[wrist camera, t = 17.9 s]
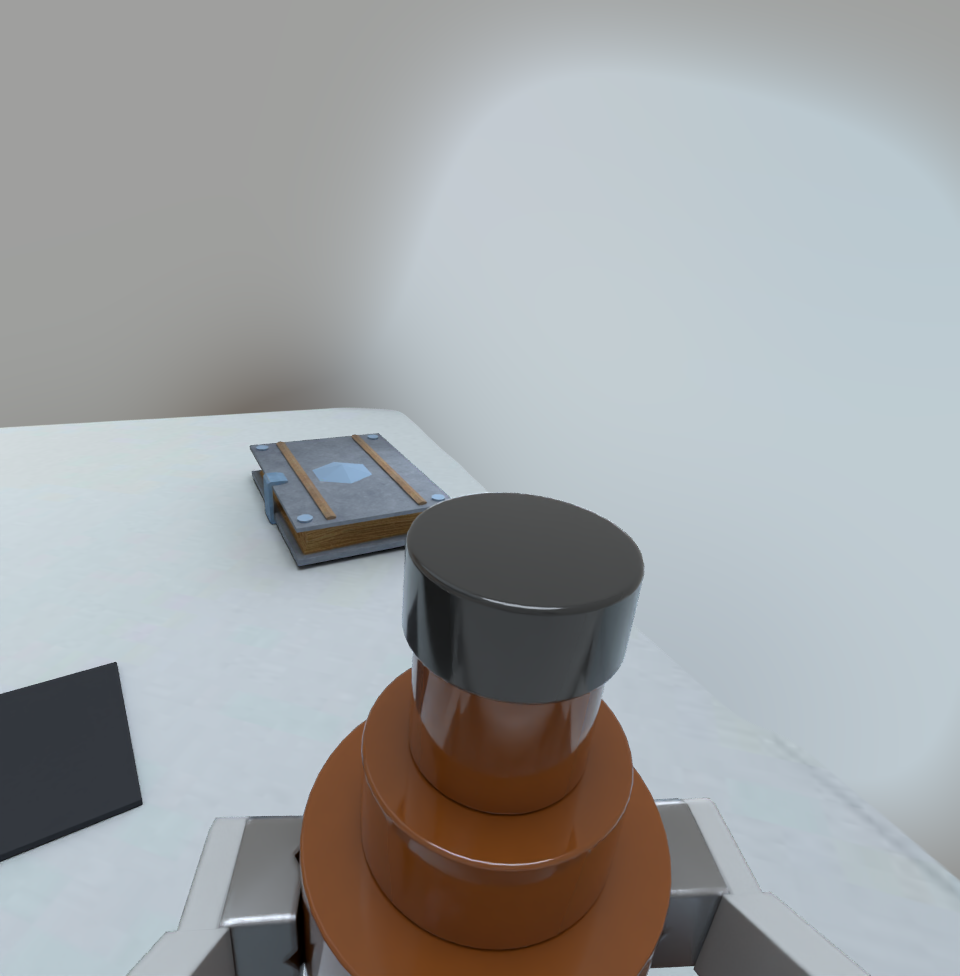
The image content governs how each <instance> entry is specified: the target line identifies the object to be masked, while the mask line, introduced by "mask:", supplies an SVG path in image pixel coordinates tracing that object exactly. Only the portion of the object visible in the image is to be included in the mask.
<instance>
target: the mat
mask: <svg viewBox="0 0 960 976" xmlns="http://www.w3.org/2000/svg"><path fill="white" fill-rule="evenodd" d="M139 805H142V798H141V793H140V787H139V782H138V776H137V771H136V765H135V760H134V754H133V749H132V744H131V738H130V733H129V727H128V722H127V716H126V711H125V705H124V700H123V694H122V689H121V684H120V678H119V673H118V667H117V662H114V663H110V664H107V665H103V666H99V667H96V668H92V669H89V670H85V671H81V672H78V673H74V674H71V675H67V676H64V677H60V678H56V679H53V680H49V681H46V682H42V683H38V684H35V685H31V686H28V687H24V688H21V689H17V690H13V691H10V692H6V693H3V694H0V861H2V860H4V859H7V858H9V857H12V856H14V855H17V854H19V853H22V852H24V851H27V850H29V849H32V848H34V847H37V846H39V845H42V844H44V843H47V842H49V841H52V840H54V839H57V838H59V837H62V836H64V835H67V834H69V833H72V832H74V831H77V830H79V829H82V828H84V827H87V826H89V825H92V824H94V823H97V822H99V821H102V820H104V819H107V818H109V817H112V816H114V815H117V814H119V813H122V812H124V811H127V810H129V809H132V808H134V807H137V806H139Z"/></svg>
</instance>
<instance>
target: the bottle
mask: <svg viewBox="0 0 960 976" xmlns="http://www.w3.org/2000/svg"><path fill="white" fill-rule="evenodd" d="M643 577H644V563H643V559H642V555H641V552H640V550H639V548H638V546H637V545H636V544H635V542H634V541H633V540H632V538H631V537H630V536H628V534H627V533H626V532H624V531H623V530H622V529H621V528H619V527H618V526H617V525H615V524H614V523H612V522H611V521H609V520H608V519H606V518H604V517H602V516H600V515H598V514H596V513H594V512H592V511H589V510H587V509H585V508H582V507H579V506H577V505H574V504H571V503H567V502H564V501H560V500H556V499H552V498H548V497H542V496H537V495H529V494H521V493H502V492H496V493H478V494H470V495H464V496H459V497H455V498H451V499H448V500H445V501H442V502H439V503H437V504H435V505H433V506H431V507H429V508H428V509H426V510H424V511H423V512H422V513H421V514H419V515H418V516H417V517H416V519H415V520H414V521H413V522H412V524H411V526H410V528H409V530H408V532H407V536H406V541H405V563H404V585H403V607H402V627H403V631H404V635H405V638H406V640H407V642H408V644H409V646H410V648H411V650H412V651H413V656H412V668H410V669H408V670H407V671H405V672H404V673H402V674H401V675H400V676H398V677H397V678H396V679H395V680H394V681H392V682H391V683H390V684H389V685H388V686H387V687H386V688H385V690H384V691H383V692H382V693H381V695H380V696H379V697H378V699H377V700H376V702H375V704H374V705H373V707H372V709H371V710H370V713H369V715H368V718H367V720H365V721H364V722H363V723H361V724H360V725H359V726H357V727H356V728H355V729H354V730H353V731H352V732H351V733H350V734H349V735H348V736H347V737H346V738H345V739H344V740H342V742H341V743H340V744H339V745H338V747H337V748H336V749H335V750H334V751H333V753H332V754H331V755H330V756H329V758H328V760H327V761H326V763H325V765H324V766H323V768H322V769H321V771H320V773H319V774H318V776H317V778H316V781H315V783H314V785H313V787H312V790H311V792H310V794H309V797H308V801H307V804H306V807H305V811H304V814H303V819H302V826H301V833H300V881H301V901H302V922H303V943H304V964H305V976H647V975H648V972H649V969H650V966H651V963H652V961H653V958H654V955H655V952H656V949H657V946H658V943H659V941H660V938H661V935H662V932H663V928H664V925H665V921H666V917H667V913H668V910H669V904H670V895H671V886H672V875H671V857H670V851H669V845H668V840H667V835H666V832H665V829H664V825H663V822H662V819H661V816H660V813H659V811H658V808H657V806H656V804H655V802H654V799H653V797H652V795H651V793H650V791H649V790H648V788H647V786H646V785H645V783H644V781H643V780H642V778H641V776H640V775H639V773H638V772H637V771H636V769H635V768H634V767H633V763H632V755H631V751H630V748H629V745H628V741H627V738H626V736H625V733H624V731H623V729H622V727H621V725H620V723H619V721H618V720H617V718H616V717H615V715H614V713H613V712H612V711H611V709H610V708H609V707H608V706H607V704H606V703H605V702H604V701H603V700H602V694H603V690H604V686H605V683H606V682H607V681H608V680H609V679H610V678H611V677H612V676H613V675H614V674H615V673H616V672H617V670H618V669H619V667H620V666H621V664H622V662H623V660H624V656H625V653H626V649H627V645H628V641H629V636H630V632H631V628H632V624H633V619H634V615H635V611H636V607H637V602H638V598H639V594H640V589H641V585H642V581H643Z"/></svg>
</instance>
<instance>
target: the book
mask: <svg viewBox="0 0 960 976" xmlns="http://www.w3.org/2000/svg"><path fill="white" fill-rule="evenodd" d="M250 450H251V451H252V453H253V455H254V457H255V459H256V460H257V462H258V464H259V466H260V468H261V469H262V470H258V471H252V476H253V478H254V480H255V482H256V484H257V486H258V488H259V490H260V492H261V494H262V496H263V498H264V500H265V511H266V515H267V517H268V519H269V521H270V523H272V524H276V523H277V525H278V527H279V529H280V531H281V533H282V535H283V537H284V539H285V541H286V543H287V545H288V547H289V549H290V551H291V553H292V555H293V557H294V559H295V561H296V563H297V565H298V566H303V565H308V564H313V563H318V562H323V561H328V560H334V559H339V558H344V557H349V556H354V555H359V554H364V553H370V552H375V551H380V550H385V549H390V548H395V547H400V546H405V541H406V536H407V532H408V530H409V528H410V526H411V524H412V522H413V521H414V520H415V519H416V517H417V516H418V515H419V514H421V513H422V512H423V511H424V510H426V509H428V508H429V507H431V506H433V505H435V504H437V503H439V502H442V501H445V500H448V499H451V498H450V497H449V496H448V495H447V494H446V493H445V492H444V491H443V490H441V489H440V488H439V487H438V486H437V485H436V484H435V483H434V482H432V481H431V480H430V479H429V478H428V477H427V476H426V475H425V474H424V473H422V472H421V471H420V470H419V469H418V468H417V467H416V466H415V465H413V464H412V463H411V462H410V461H409V460H408V459H407V458H406V457H404V456H403V455H402V454H401V453H400V452H399V451H398V450H397V449H396V448H394V447H393V446H392V445H391V444H390V443H389V442H388V441H387V440H385V439H384V438H383V437H382V436H381V435H380V434H379V433H377V434H366V435H352V436H345V437H335V438H324V439H314V440H303V441H293V442H278V443H272V444H261V445H251V446H250Z"/></svg>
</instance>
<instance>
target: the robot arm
mask: <svg viewBox="0 0 960 976" xmlns="http://www.w3.org/2000/svg"><path fill="white" fill-rule="evenodd" d="M654 802H655V804H656V806H657V808H658V811H659V813H660V816H661V819H662V822H663V825H664V829H665V832H666V835H667V840H668V845H669V851H670V857H671V875H672V886H671V895H670V904H669V910H668V913H667V917H666V921H665V925H664V928H663V932H662V935H661V938H660V941H659V943H658V946H657V949H656V952H655V955H654V958H653V961H652V963H651V966H650V968H664V967H684V966H694V971H695V972H696V973H697V974H698V975H699V976H871V975H870V974H868V973H867V972H866V971H865V970H864V969H862V968H861V967H860V966H859V965H858V964H856V963H855V962H854V961H853V960H852V959H850V958H849V957H848V956H847V955H846V954H845V953H843V952H842V951H841V950H840V949H839V948H837V947H836V946H835V945H834V944H833V943H831V942H830V941H829V940H828V939H827V938H825V937H824V936H823V935H822V934H821V933H820V932H818V931H817V930H816V929H815V928H814V927H812V926H811V925H810V924H809V923H808V922H806V921H805V920H804V919H803V918H802V917H800V916H799V915H798V914H797V913H796V912H795V911H793V910H792V909H791V908H790V907H789V906H787V905H786V904H785V903H784V902H783V901H781V900H780V899H779V898H778V897H777V896H775V895H774V894H773V893H772V892H762V890H761V888H760V886H759V884H758V882H757V881H756V879H755V877H754V875H753V873H752V871H751V869H750V868H749V866H748V864H747V862H746V860H745V858H744V856H743V855H742V853H741V851H740V849H739V847H738V845H737V843H736V842H735V840H734V838H733V836H732V834H731V832H730V831H729V829H728V827H727V825H726V823H725V821H724V819H723V818H722V816H721V814H720V812H719V810H718V808H717V806H716V805H715V803H714V802H713V801H712V800H711V799H710V798H691V799H678V798H673V799H656V800H654ZM302 819H303V816H255V817H250V816H247V817H220V818H216V819H215V820H214V822H213V824H212V825H211V827H210V829H209V832H208V835H207V838H206V841H205V844H204V848H203V851H202V854H201V857H200V860H199V863H198V866H197V869H196V872H195V876H194V879H193V882H192V885H191V888H190V891H189V894H188V897H187V901H186V904H185V907H184V910H183V913H182V916H181V919H180V922H179V926H178V929H177V931H168V932H165V933H164V935H163V936H162V937H161V938H160V939H159V940H158V941H157V942H156V943H155V944H154V945H153V947H152V948H151V949H150V950H149V951H148V952H147V953H146V954H145V955H144V956H143V957H142V958H141V960H140V961H139V962H138V963H137V964H136V965H135V966H134V967H133V968H132V969H131V970H130V972H129V973H128V974H127V975H126V976H303V970H304V943H303V922H302V901H301V881H300V833H301V826H302Z"/></svg>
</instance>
